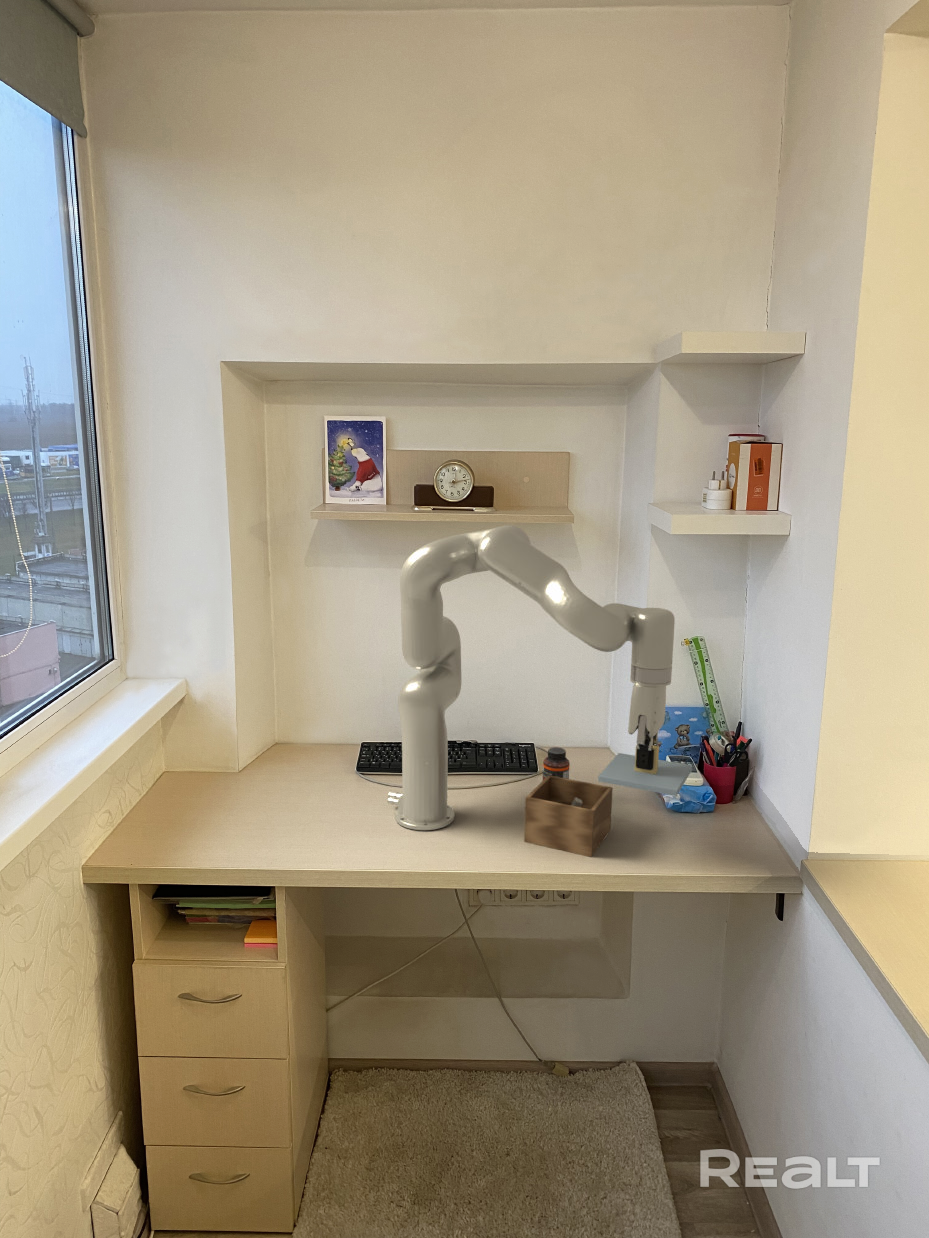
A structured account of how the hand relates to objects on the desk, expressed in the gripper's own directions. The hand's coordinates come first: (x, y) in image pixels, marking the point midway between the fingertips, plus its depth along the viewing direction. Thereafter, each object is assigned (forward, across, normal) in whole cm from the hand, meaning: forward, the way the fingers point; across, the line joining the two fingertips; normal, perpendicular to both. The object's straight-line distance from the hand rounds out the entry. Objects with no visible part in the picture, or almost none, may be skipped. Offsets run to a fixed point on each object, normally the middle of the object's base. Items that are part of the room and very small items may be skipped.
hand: (646, 765), depth 166 cm
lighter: (+18, 0, -16) cm, 24 cm away
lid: (+2, 0, 0) cm, 2 cm away
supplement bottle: (+18, -17, -24) cm, 35 cm away
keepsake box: (+18, 0, -15) cm, 24 cm away
